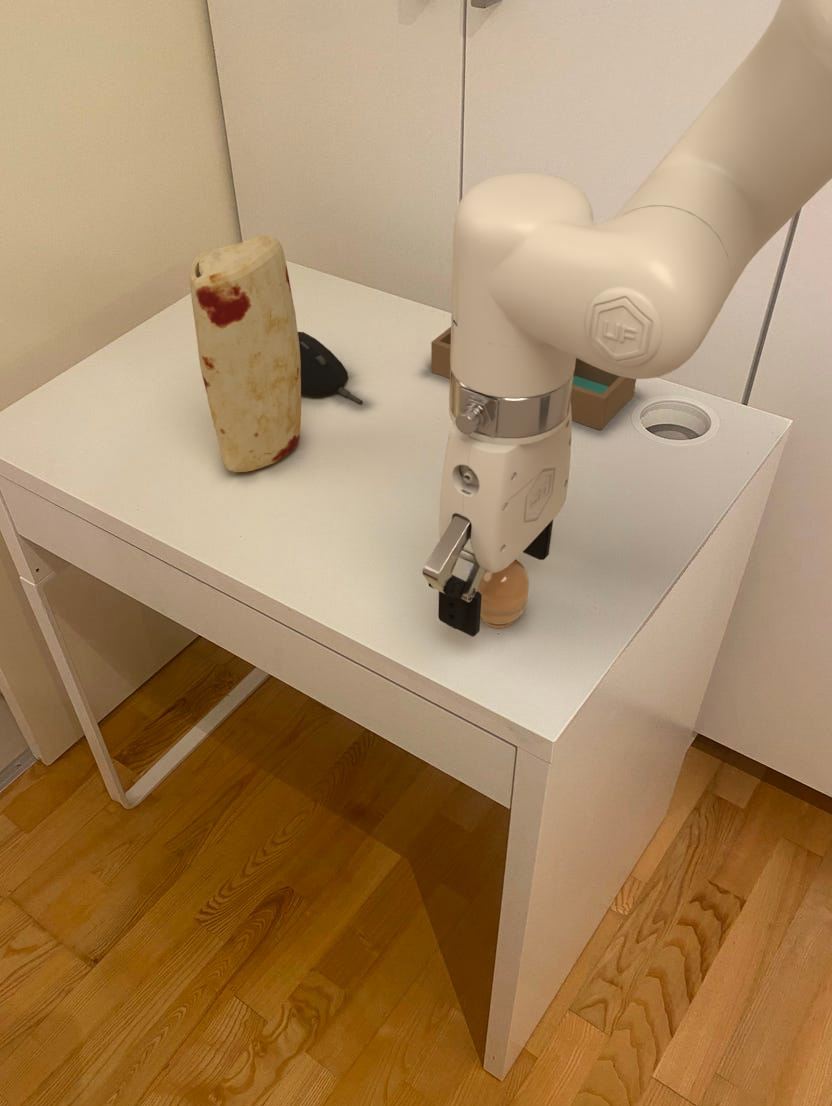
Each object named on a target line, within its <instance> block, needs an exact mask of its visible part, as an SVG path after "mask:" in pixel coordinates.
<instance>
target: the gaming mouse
mask: <svg viewBox="0 0 832 1106" xmlns="http://www.w3.org/2000/svg"><path fill="white" fill-rule="evenodd" d="M298 339H299V347H300V360H301V396H304V397H307V398H322V397H325V396H329V395H332V394H335V393H337V392H338V393H339V394H340V395H342V396H343V397H345V398H349V399H350V400H353V401H354V402H356V403H357V404H359V405H362V404H363V403H364V402H363V400H362V399H360V398H359V397H358V396H355V395H353V394H352V393H351V391H349V390H348V389H346V388H344V387H345V385H346V384H347V382H348V380H349V373H348V371H347V369H346V368H345V366H344V365H343V363H342V362H341V360H339V358H338V357H337V356H336V354H334V353H333V352H332V351H331V350H330V349H328V348H327V347H326V346H325V345H324V344H323V343H321V342H320V340H318V339H317V338H315V337H313V336H311V335H309V334H308V333H306V332H304V331H298Z"/></svg>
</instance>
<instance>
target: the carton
mask: <svg viewBox="0 0 832 1106" xmlns="http://www.w3.org/2000/svg"><path fill="white" fill-rule="evenodd" d="M430 344H431V347H430V349H431V350H430V351H431V352H430V353H431V358H430V359H431V373H432V374H435V375H439V376H441V377H444V378H448V379H450V353H451V326H450V327H448V328H447V329H446V330H444V332H442V333H441V334H440V335H438V336H437V337H436V338H434V339H433V340H432V341H431V343H430ZM636 384H637V379H632V378H627V377H622V376H617V375H615V374H612V373H609V372H606V371H603V370H601V369H599V368H597V367H594V366H592V365H590V364H588V363H586V362H584V361H582V360H580V359H578V358H576V363H575V370H574V378H573V386H572V393H571V413H572V422H575V423H577V424H580V425H583V426H586V427H590V428H592V429H595V430H597V431H601V430H602V429H604V427H605V426H606V425H607V424H608V423H610V421H611V420H612V419H613V418H614V417H615V416H616V415H617V414H618V413H619V412H620V411H621V410H622V409H623V408H624V407H625V406H626V405H627V403H628V402H629V401H630V400H632V399H633V397H635V389H636Z"/></svg>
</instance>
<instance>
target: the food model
mask: <svg viewBox="0 0 832 1106" xmlns="http://www.w3.org/2000/svg"><path fill="white" fill-rule="evenodd" d="M188 275H189V276H188V278H189V288H190V296H191V297H190V298H191V305H192V313H193V320H194V328H195V335H196V343H197V351H198V352H197V353H198V360H199V361H198V362H199V367H200V372H201V376H202V377H201V378H202V380H203V385H204V388H205V393H206V397H207V402H208V406H209V410H210V415H211V420H212V423H213V426H214V431H215V435H216V438H217V443H218V447H219V451H220V456H221V459H222V463H223V465H224V467H225V468H226V469H227V470H228V471H230V472H234V473H242V472H243V473H246V472H252V471H256V470H259V469H262V468H265V467H267V466H270V465H272V464H275V463H276V462H278V461H280V460H282V459H283V458H285V457H286V456H287V455H289V454H290V453H292V452H293V451H294V450H295V449H296V447H297V446H298V444H299V440H300V437H301V434H300V433H301V425H302V395H301V360H300V347H299V339H298V332H299V331H298V325H297V323H298V322H297V316H296V309H295V304H294V299H293V294H292V293H293V292H292V288H291V287H292V286H291V282H290V276H289V270H288V266H287V261H286V257H285V253H284V249H283V246H282V244H281V242H280V241H279V239H277V238H276V237H275V236H273V235H258V236H254V237H251V238H249V239H246V240H244V241H241V242H239V243H234V244H230V245H226V246H222V247H220V246H218V245H217V246H214V247H212V248H209V249H206V250H203V251H201V253H199V254H198V255H197V256H196V257H195V258H194V260H193V261H192V263H191V265H190V267H189V272H188Z"/></svg>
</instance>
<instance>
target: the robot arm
mask: <svg viewBox="0 0 832 1106" xmlns="http://www.w3.org/2000/svg"><path fill="white" fill-rule="evenodd" d="M831 180H832V0H780V2H779V5H778V7H777V9H776V11H775V14H774V16H773V18H772V19H771V22H770V23H769V25H768V26H767V28H766V29H765V31H764V33H762V35H761V37H760V38H759V40H758V41H757V43H756V44H755V45H754V46H753V48H751V50H750V52H749V53H748V54H747V56H745V58H744V59H743V61H742V62H741V63H740V64H739V66H738V67H737V68H736V69H735V70H734V71H733V73H732V74H731V76H730V77H729V78H728V79H727V80H726V82H725V83H724V84H723V85H722V86H721V88H720V89H719V90H718V92H717V93H716V94H715V95H714V96H713V98H712V99H711V100H710V101H709V103H708V104H707V105H706V106H705V108H704V109H703V110H702V111H701V112H700V114H699V115H698V116H697V117H696V118H695V120H694V121H693V122H692V123H691V124H690V126H689V127H688V128H687V130H686V131H684V133H683V134H682V136H681V137H680V138H679V139H678V140H677V142H676V143H675V144H674V145H673V147H672V148H671V149H670V150H669V151H668V152H667V153H666V155H665V156H664V157H663V158H662V159H661V161H660V162H659V163H658V164H657V165H656V167H655V168H654V169H653V170H652V171H651V173H650V174H648V176H647V177H646V178H645V179H644V181H643V182H642V183H641V184H640V186H639V187H638V188H637V189H636V190H635V192H634V193H633V194H632V195H631V196H630V197H629V199H628V200H627V201H626V202H624V204H623V206H622V207H621V208H620V209H619V211H618V212H617V213H616V214H615V215H614V217H613V218H611V219H608V220H607V221H603V222H600V223H598V224H597V223H595V222H594V213H593V208H592V204H591V202H590V200H589V198H588V196H587V195H586V193H585V192H584V191H583V190H582V189H581V188H580V187H578V186H577V184H574V183H573V182H572V181H569V180H568V179H565V178H562V177H560V176H557V175H553V174H548V173H541V172H540V173H538V172H510V173H502V174H499V175H496V176H491V177H488V178H485V179H484V180H482V181H479V182H477V184H475V185H473V186H472V187H471V188H469V189H468V190H467V191H466V192H465V193H464V195H463V196H462V197H461V199H460V201H459V203H458V205H457V208H456V211H455V215H454V222H453V240H452V241H453V242H452V274H451V275H452V279H451V281H452V282H451V313H450V318H451V319H450V327H451V353H450V378H449V390H448V391H449V395H448V414H449V418H450V420H451V422H452V424H451V426H450V428H449V433H448V439H447V444H446V450H445V456H444V461H443V469H442V479H441V486H440V499H439V500H440V501H439V514H438V515H439V517H438V518H439V520H438V521H439V522H438V524H439V525H438V527H439V529H438V530H439V541H438V543H437V544H436V546H435V547H434V549H433V551H432V553H431V554H430V556H429V557H428V559H427V561H426V562H425V564H424V565H423V568H422V572H421V573H422V576H423V577H424V579H425V580H426V581H427V584H428V587H429V588H431V589H433V590H435V591H438V614H437V615H438V620H439V621H440V622H441V623H443V624H445V625H447V626H448V627H450V628H452V629H455V630H458V631H460V632H462V633H464V634H466V635H468V636H470V637H476V636H477V634H478V633H479V632H480V629H481V628H480V627H481V617H480V614H481V599H482V594H480V593H479V592H478V591H477V589H478V587H479V584H480V582H481V580H482V577H483V575H484V572H485V570H487V571H489V572H491V573H497V572H500V571H502V570H504V569H505V568H507V567H508V566H509V565H510V564H511V563H512V562H513V561H514V560H515V559H516V560H517V559H518V558H519V557H520V555H521V554H526V555H527V556H530V557H532V558H534V559H537V560H539V561H544V560H545V559H546V558H547V557H548V556H549V555H550V548H551V540H552V532H553V524H554V519H555V518H556V516H557V515H558V514H559V513H560V511H561V510H562V508H563V506H564V504H565V502H566V500H567V495H568V486H569V477H570V468H571V467H570V466H571V453H572V434H573V421H572V413H571V393H572V386H573V378H574V370H575V363H576V358H578V359H580V360H582V361H584V362H586V363H588V364H590V365H592V366H594V367H597V368H599V369H601V370H603V371H606V372H609V373H612V374H615V375H617V376H622V377H627V378H632V379H636V380H649V379H656V378H661V377H663V376H665V375H666V376H667V375H668V374H671V373H673V372H675V371H676V370H677V369H679V368H680V367H682V366H683V365H684V364H685V363H687V362H688V361H689V360H690V359H691V358H692V357H693V356H694V355H695V353H696V351H698V349H699V348H700V346H702V344H703V342H704V340H705V338H706V337H707V335H708V334H709V331H710V330H711V328H712V326H713V324H714V323H715V322H716V320H717V318H718V316H719V314H720V313H721V311H722V309H723V307H724V305H725V303H726V301H727V300H728V298H729V296H730V294H731V293H732V291H733V289H734V287H735V286H736V284H737V282H738V280H739V279H740V277H741V276H742V274H743V273H744V271H745V269H746V268H747V266H748V265H749V263H750V262H751V261H752V260H753V258H754V257H755V256H756V255H757V254H758V253H759V252H760V251H761V249H763V247H765V245H766V244H767V243H768V242H769V241H770V240H771V239H773V237H774V236H775V235H776V234H777V233H778V232H779V231H780V230H781V229H782V228H783V227H784V226H785V225H786V224H787V223H788V222H789V221H790V220H791V219H792V218H793V217H794V216H795V215H796V214H797V213H798V212H799V211H800V210H801V209H802V208H803V207H804V206H805V205H806V204H807V203H808V202H809V201H810V200H811V199H812V198H814V196H815V195H816V194H818V192H820V190H822V189H823V188H824V186H826V185H827V184H828V183H829V182H830V181H831ZM469 540H470V546H471V549H472V550H470V549H468V548H466V547H465V546H466V545H467V543H468V541H469ZM459 558H460V559H462V560H464V561H466V562H468V563H471V564H472V566H471V569H470V571H469V574H468V575H467V579H466V580H465V579H462V578H461V577H458V576H456V575H453V572H454V571H455V567H456V564H457V562H458V559H459Z"/></svg>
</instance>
